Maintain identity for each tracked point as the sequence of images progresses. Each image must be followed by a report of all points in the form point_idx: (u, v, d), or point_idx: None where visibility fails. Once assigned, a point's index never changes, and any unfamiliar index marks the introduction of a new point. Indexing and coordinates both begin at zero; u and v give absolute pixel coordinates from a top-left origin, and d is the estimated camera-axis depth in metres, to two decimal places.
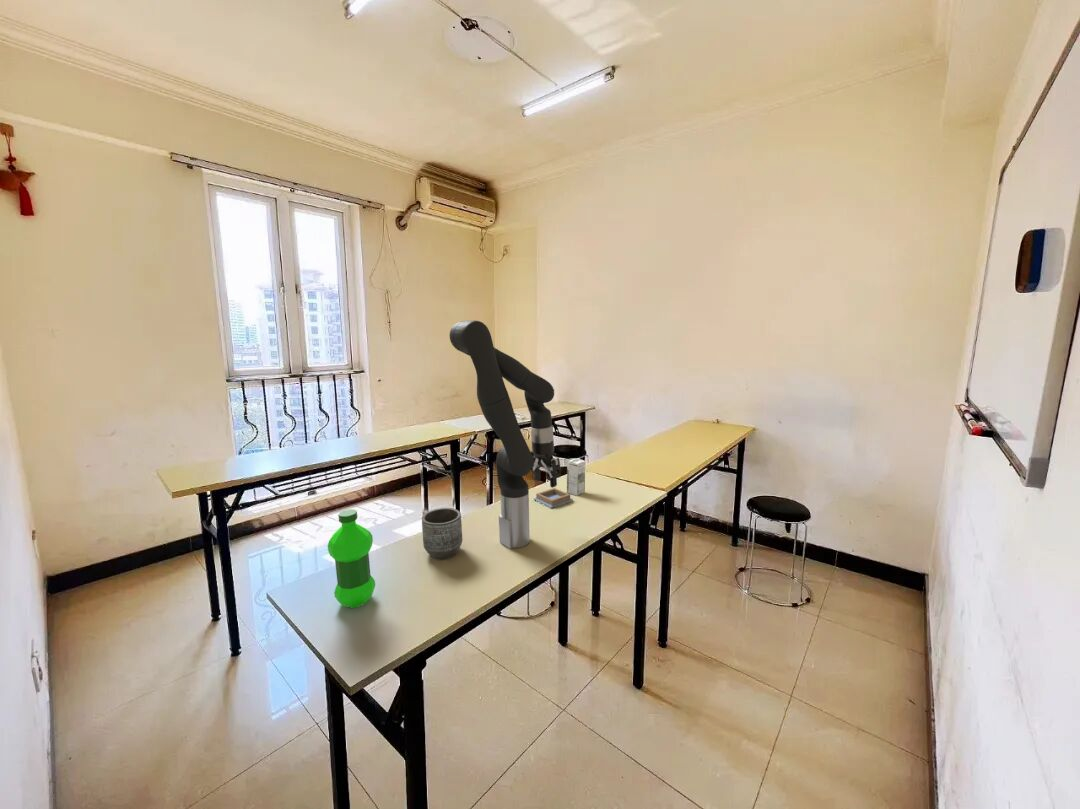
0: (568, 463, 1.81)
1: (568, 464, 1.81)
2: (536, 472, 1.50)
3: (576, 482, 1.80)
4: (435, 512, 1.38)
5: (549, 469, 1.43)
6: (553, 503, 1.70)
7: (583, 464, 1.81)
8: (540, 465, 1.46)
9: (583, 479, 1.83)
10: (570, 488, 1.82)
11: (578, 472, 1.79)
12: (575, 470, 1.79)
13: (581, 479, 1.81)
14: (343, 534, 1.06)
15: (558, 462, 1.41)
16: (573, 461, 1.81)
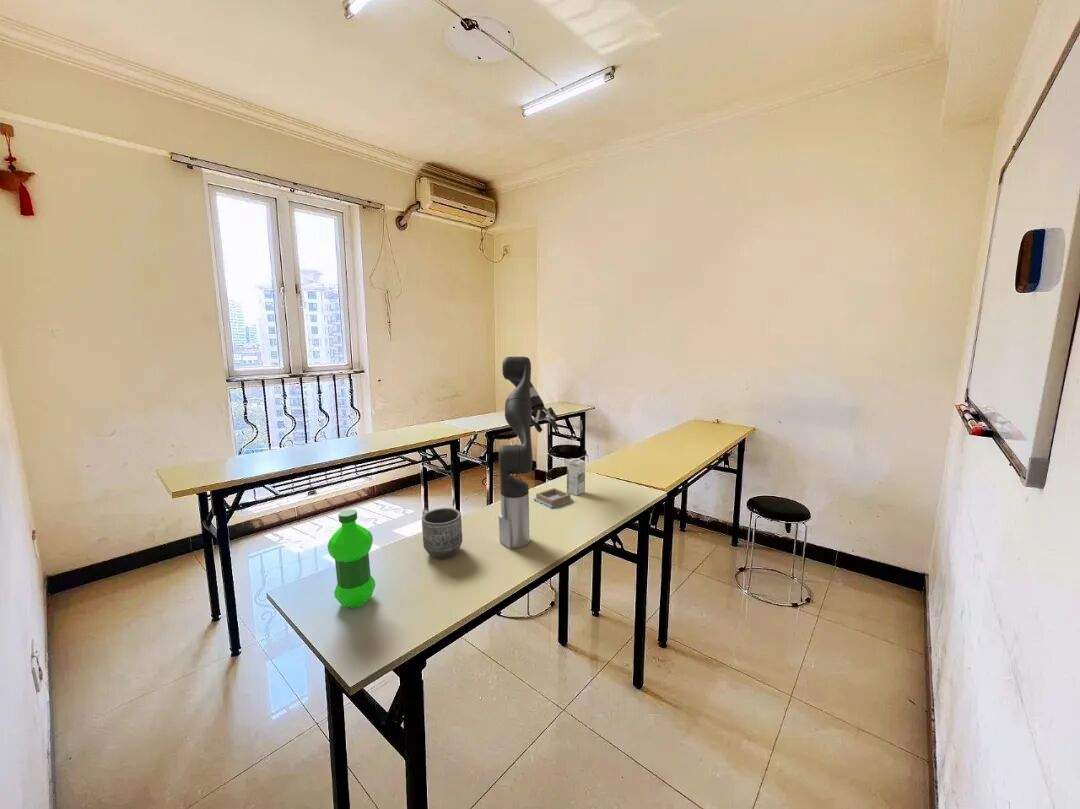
0: (568, 463, 1.81)
1: (568, 464, 1.81)
2: None
3: (576, 482, 1.80)
4: (435, 512, 1.38)
5: None
6: (553, 503, 1.70)
7: (583, 464, 1.81)
8: (541, 416, 1.85)
9: (583, 479, 1.83)
10: (570, 488, 1.82)
11: (578, 472, 1.79)
12: (575, 470, 1.79)
13: (581, 479, 1.81)
14: (343, 534, 1.06)
15: None
16: (573, 461, 1.81)
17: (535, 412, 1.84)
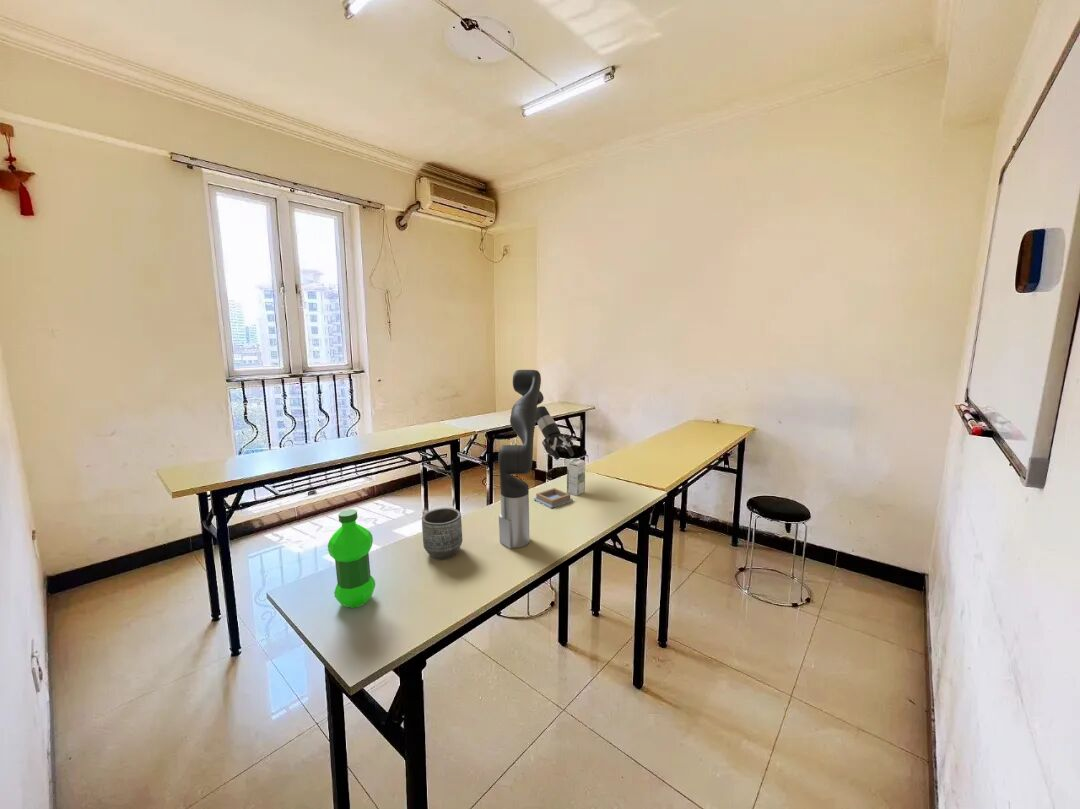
0: (568, 463, 1.81)
1: (568, 464, 1.81)
2: None
3: (576, 482, 1.80)
4: (435, 512, 1.38)
5: None
6: (553, 503, 1.70)
7: (583, 464, 1.81)
8: (558, 443, 1.88)
9: (583, 479, 1.83)
10: (570, 488, 1.82)
11: (578, 472, 1.79)
12: (575, 470, 1.79)
13: (581, 479, 1.81)
14: (343, 534, 1.06)
15: None
16: (573, 461, 1.81)
17: (552, 440, 1.88)
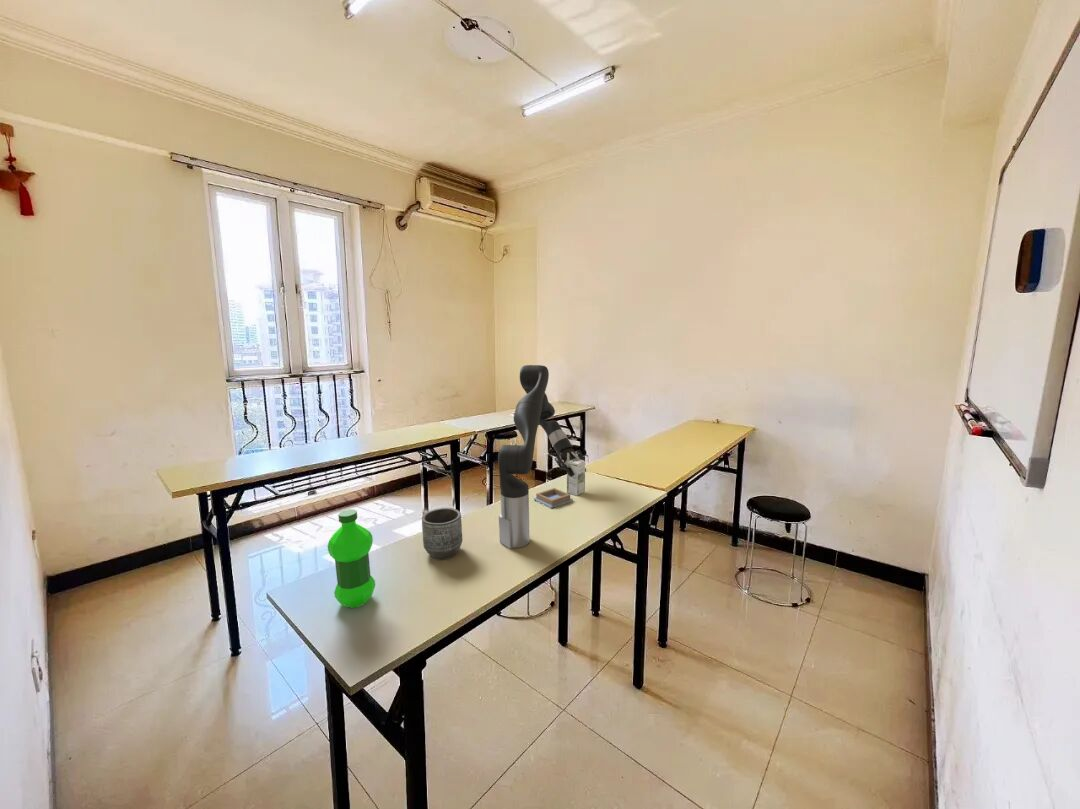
0: (568, 463, 1.81)
1: None
2: None
3: (576, 482, 1.80)
4: (435, 512, 1.38)
5: None
6: (553, 503, 1.70)
7: (583, 464, 1.81)
8: (570, 458, 1.83)
9: (583, 479, 1.82)
10: (570, 488, 1.82)
11: (578, 472, 1.79)
12: (575, 470, 1.79)
13: (581, 479, 1.81)
14: (343, 534, 1.06)
15: None
16: (573, 461, 1.81)
17: (564, 455, 1.83)
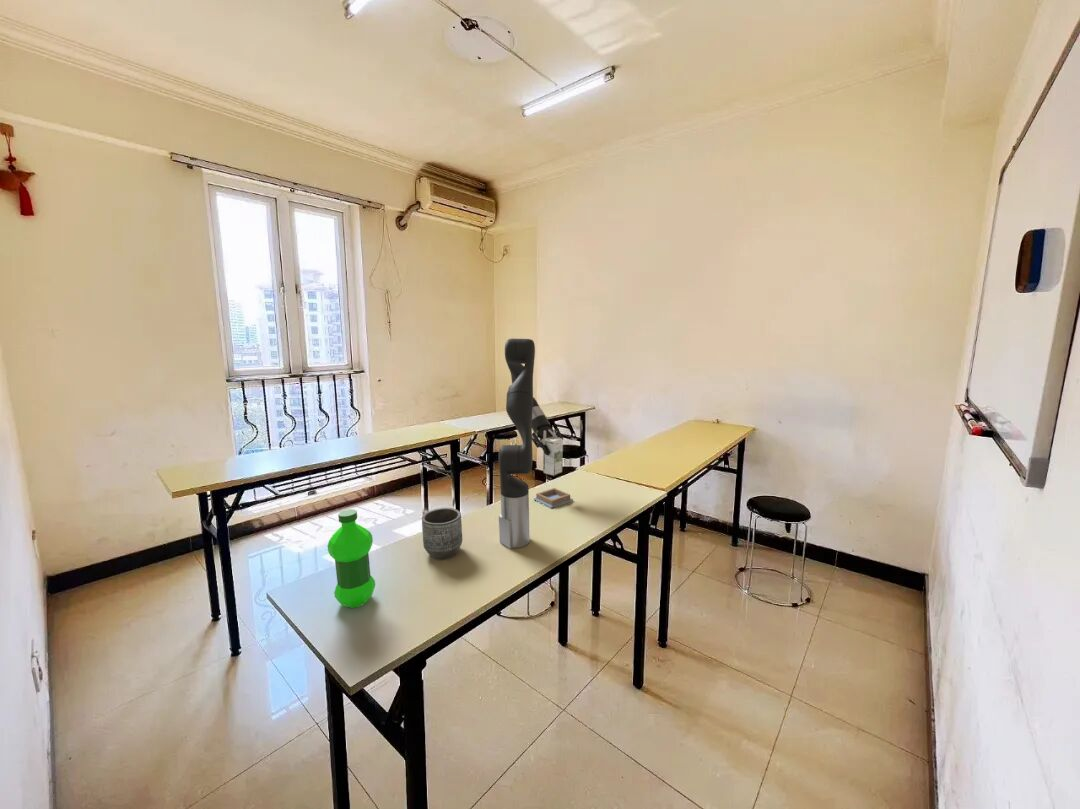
0: None
1: None
2: None
3: (552, 461, 1.70)
4: (435, 512, 1.38)
5: None
6: (553, 503, 1.70)
7: (560, 442, 1.71)
8: (547, 436, 1.73)
9: (560, 458, 1.72)
10: (546, 467, 1.72)
11: (554, 450, 1.69)
12: (552, 448, 1.69)
13: (558, 458, 1.71)
14: (343, 534, 1.06)
15: None
16: (550, 439, 1.71)
17: (541, 433, 1.73)
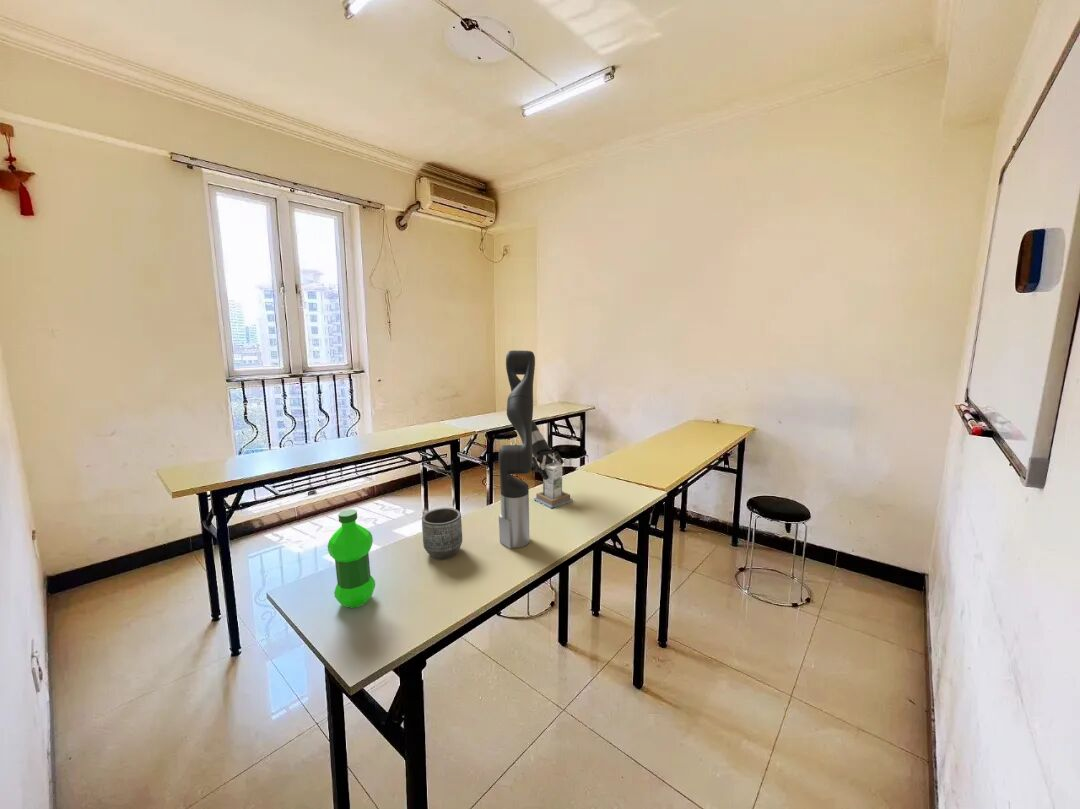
0: (544, 467, 1.73)
1: (544, 468, 1.73)
2: None
3: (552, 488, 1.72)
4: (435, 512, 1.38)
5: None
6: (553, 503, 1.70)
7: (560, 469, 1.73)
8: (547, 461, 1.75)
9: (560, 484, 1.74)
10: (546, 493, 1.74)
11: (554, 477, 1.71)
12: (551, 475, 1.71)
13: (557, 484, 1.73)
14: (343, 534, 1.06)
15: None
16: (549, 465, 1.73)
17: (541, 458, 1.75)
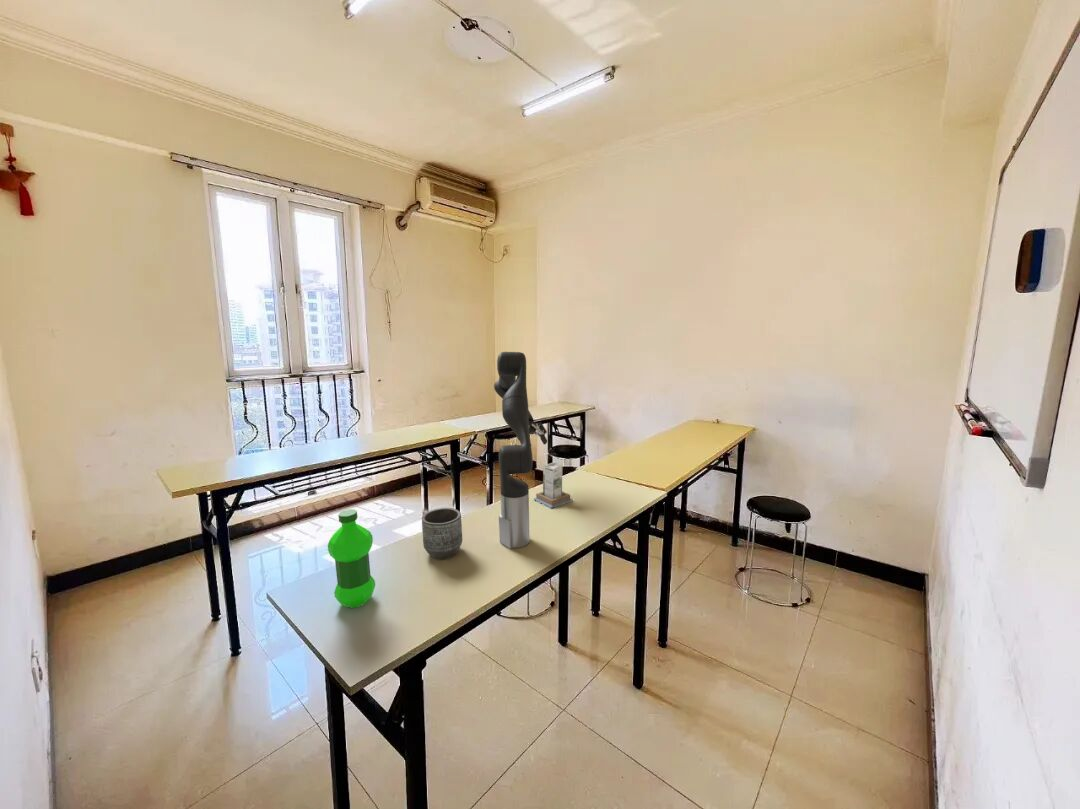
0: (544, 467, 1.73)
1: (544, 468, 1.73)
2: None
3: (552, 488, 1.72)
4: (435, 512, 1.38)
5: None
6: (553, 503, 1.70)
7: (560, 469, 1.73)
8: (530, 431, 1.81)
9: (560, 484, 1.74)
10: (546, 493, 1.74)
11: (554, 477, 1.71)
12: (551, 475, 1.71)
13: (557, 484, 1.73)
14: (343, 534, 1.06)
15: None
16: (549, 465, 1.73)
17: None
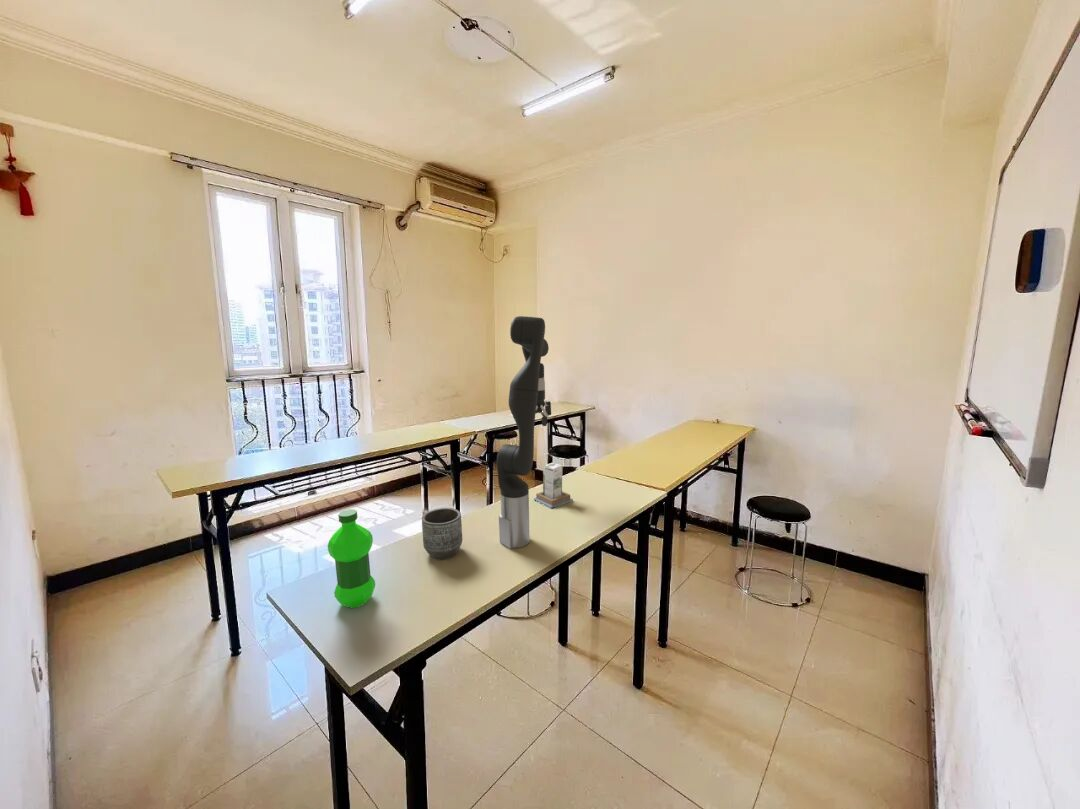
0: (544, 467, 1.73)
1: (544, 468, 1.73)
2: None
3: (552, 488, 1.72)
4: (435, 512, 1.38)
5: None
6: (553, 503, 1.70)
7: (560, 469, 1.73)
8: (536, 412, 1.73)
9: (560, 484, 1.74)
10: (546, 493, 1.74)
11: (554, 477, 1.71)
12: (551, 475, 1.71)
13: (557, 484, 1.73)
14: (343, 534, 1.06)
15: None
16: (549, 465, 1.73)
17: None
